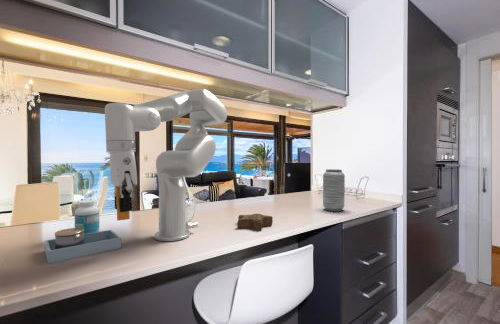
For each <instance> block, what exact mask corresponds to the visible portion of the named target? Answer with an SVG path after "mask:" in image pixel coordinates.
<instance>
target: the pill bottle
mask: <svg viewBox="0 0 500 324" xmlns="http://www.w3.org/2000/svg"><path fill="white" fill-rule="evenodd" d="M78 205H79V207H77V208H76V209H74V210H75V211H74V228H84V234H88V233H94V232H100V208H99V207H98V206H95V205H96V200H94V199H93V200H91V199H89V200H80V201H79V204H78Z"/></svg>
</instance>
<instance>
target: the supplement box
mask: <svg viewBox="0 0 500 324" xmlns="http://www.w3.org/2000/svg"><path fill="white" fill-rule="evenodd" d="M124 186H126V185H122V187H124ZM123 190H124V189H123ZM119 198H121V197H120V188H119V187H117V186H116V203H117V209H116V219H117V221H124V220H126V221H127V220H130V219H131V214H130V213H131V211H126V212H120V209H119Z"/></svg>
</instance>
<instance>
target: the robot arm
mask: <svg viewBox="0 0 500 324" xmlns="http://www.w3.org/2000/svg"><path fill="white" fill-rule="evenodd" d="M188 114H189V124H190V127H189V130H187V132H186V133H185V134H184V135H183V136H182V137H181V138H180V139H179V140H178V141H177V142H176V144H175V147H174V150H173V149H172V150H165V151H163V152H160V153H159V155H158V156H157V157H156V160H155V169H156V173H157V174H156V175H157V179H158V231H157V232H155V233H154V234H153V236H154V237H153V238H154V239H155V240H157V241H160V242H176V241H181V240H184V239H187V238H189V237H190V235H191V231H190V230H191V229H195V228H198V227H199V226H198V222H187V220H186V219H187V217H186V216H187V206H186V205H187V199H186V198H187V188H186V183H185V182H184V180H183V178H195V177H197V176H199V175H200V174H201V173H203V171H204V170H205V169H206V167H207V166H208V165H209V163H210V162H211V161H212V159H213V157H214V156H215V153H216V146H217V145H216V141H215V140H214V138H213V137H212V136H210V135H209V133H208V130H207V129H206V127H205V126H207V125H208V126H209V125H210V126H211V125H221V124H223V123H225V122H226V121H227V118H228V111H227V109H226V107H225V105H224V104H223V103H222V102H221V101H220V100H219V98H217V96H215V95H214V94H213V93H212V92H210V91H209V90H207V89H206V88H196V89H191V90H189V89H188V90H184V91H180V92H177V93H174V94H171V95H167V96H162V97H160V98H156V99H154V100H149V101H145V102H142V103H138V104H135V105H131V104H128V103H125V102H124V103H121V102H111V103H110V102H109V103H108V104H106V105H105V106H104V122H105V123H104V124H105V125H104V126H105V148H106V150H105V151H106V153H109V155H110V156H109V175H110V176H109V178H110V183H111V185H113V186H114V188H113V189H114V194H113V195H114V209H115V210H117V203H116V186H117V187H119V188H120V197H121V198H119V209H120V212H126V211H130V212H131V211H132V210H133V196H132V195H133V194H132V193H133V187H136V186H137V185H138V173H137V164H136V157H135V156H136V155H135V153H136V152H137V151H136V150H137V149H136V132H151V131H154V130H156V129H157V128H159V126H160V125H161V123H164V122H171V121H175V120H176V119H179V118H181V117H184V116H186V115H188ZM122 185H126V186H124V187H122ZM123 189H124V190H123Z"/></svg>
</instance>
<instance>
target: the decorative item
mask: <svg viewBox="0 0 500 324" xmlns="http://www.w3.org/2000/svg"><path fill="white" fill-rule="evenodd" d="M237 217H238V218H237V219H238V220H237V223H236V226H237V229H239V230H241V229H242V230H243V229H246V230H247V229H249V230H250V229H251V230H255V231H262V228H266V227H272V225H273V221H274V220H273V216H271V215H266V214H265V215H264V214H261V213H252V214H239V215H238V216H237Z"/></svg>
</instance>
